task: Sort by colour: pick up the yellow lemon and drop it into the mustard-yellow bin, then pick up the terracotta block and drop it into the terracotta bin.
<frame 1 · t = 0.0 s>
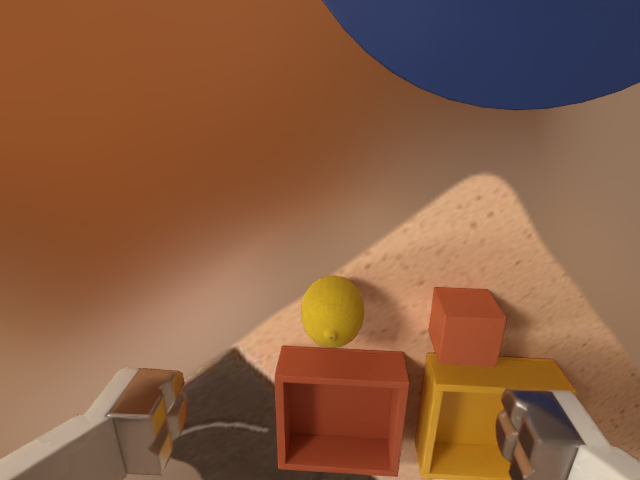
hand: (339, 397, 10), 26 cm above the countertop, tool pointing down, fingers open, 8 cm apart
block: (457, 310, 39), on the countertop
lemon: (334, 286, 39), on the countertop
terracotta bin: (340, 395, 44), on the countertop
yellow bin: (479, 403, 44), on the countertop
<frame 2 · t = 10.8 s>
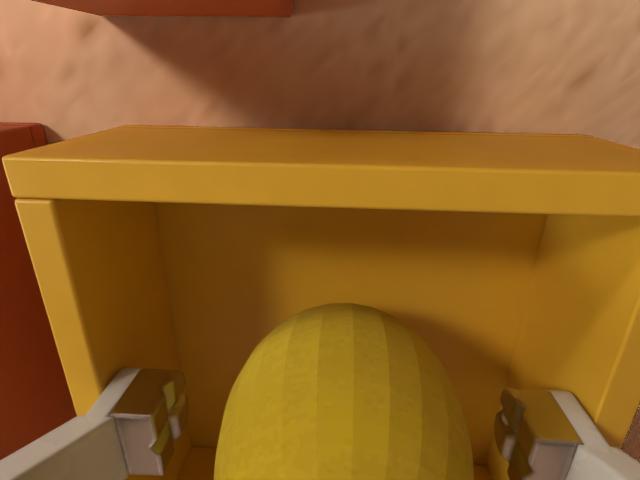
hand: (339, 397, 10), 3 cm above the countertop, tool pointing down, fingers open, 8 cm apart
lemon: (344, 328, 13), resting on yellow bin
yellow bin: (341, 323, 14), on the countertop
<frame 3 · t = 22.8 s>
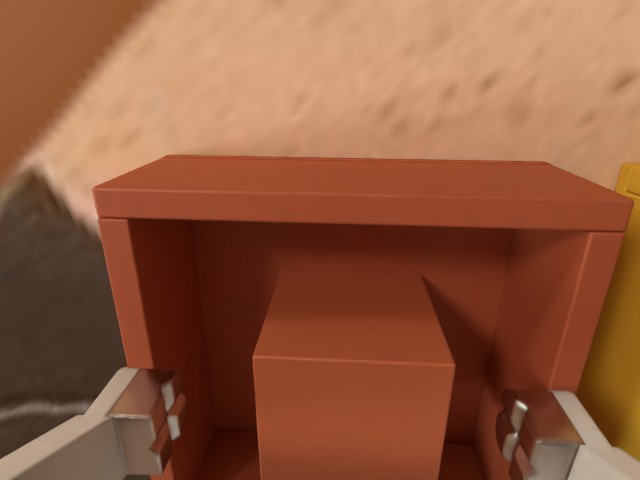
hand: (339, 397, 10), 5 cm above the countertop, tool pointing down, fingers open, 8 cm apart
block: (348, 329, 15), resting on terracotta bin
terracotta bin: (345, 319, 16), on the countertop
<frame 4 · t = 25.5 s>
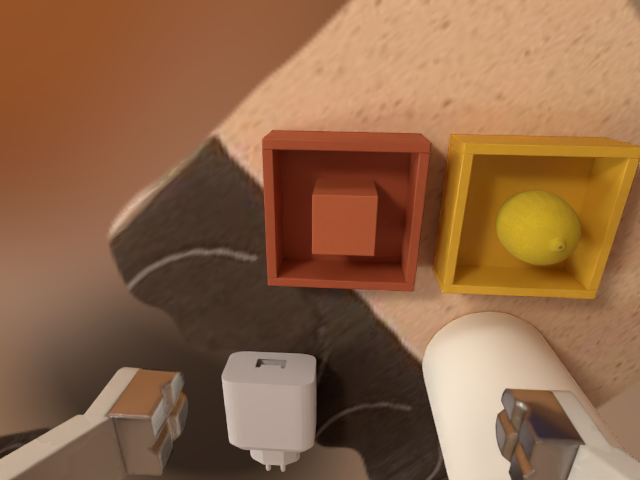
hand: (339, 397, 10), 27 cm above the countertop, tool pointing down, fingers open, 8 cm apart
block: (344, 206, 36), resting on terracotta bin
lemon: (515, 209, 36), resting on yellow bin
terracotta bin: (343, 203, 37), on the countertop
charger: (277, 403, 47), on the countertop
can: (480, 357, 42), on the countertop
yellow bin: (512, 208, 36), on the countertop
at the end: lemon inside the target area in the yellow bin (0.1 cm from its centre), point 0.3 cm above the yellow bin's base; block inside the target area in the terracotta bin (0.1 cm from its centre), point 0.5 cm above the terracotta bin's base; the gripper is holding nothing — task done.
